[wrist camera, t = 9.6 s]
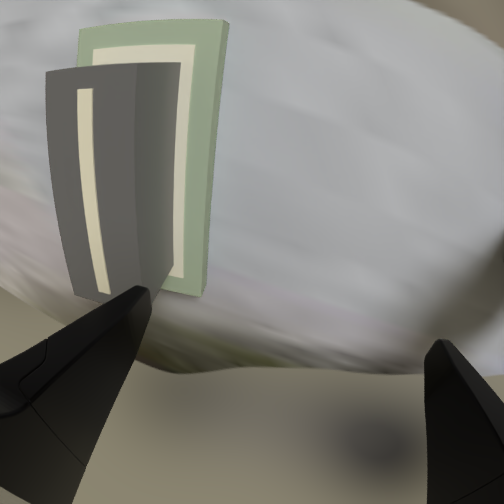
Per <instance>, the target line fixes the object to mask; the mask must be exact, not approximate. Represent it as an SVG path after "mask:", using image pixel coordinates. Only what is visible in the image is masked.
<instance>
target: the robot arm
mask: <svg viewBox="0 0 504 504" xmlns="http://www.w3.org/2000/svg"><path fill="white" fill-rule="evenodd" d="M151 311H152V305H151V296H150V290H149V288H148V287H144V286H140V285H135V286H133V287H132V288H130V289H128V290H126V291H125V292H123V293H121V294H120V295H118V296H116V297H114V298H113V299H111V300H109V301H108V302H106V303H104V304H103V305H101V306H99V307H97V308H96V309H94V310H92V311H91V312H89V313H87V314H86V315H84V316H82V317H81V318H79V319H77V320H76V321H74V322H72V323H71V324H69V325H67V326H66V327H64V328H62V329H61V330H59V331H58V332H56V333H54V334H53V335H51V336H49V337H48V339H44V340H43V341H41V342H39V343H38V344H36V345H35V346H33V347H31V348H29V349H28V350H26V351H24V352H22V353H20V354H18V355H17V356H15V357H13V358H11V359H9V360H7V361H5V362H3V363H1V364H0V504H72V502H73V499H74V497H75V494H76V492H77V489H78V487H79V484H80V482H81V479H82V477H83V474H84V472H85V469H86V466H87V464H88V462H89V459H90V457H91V455H92V452H93V450H94V448H95V445H96V443H97V440H98V438H99V436H100V433H101V431H102V429H103V427H104V425H105V422H106V420H107V418H108V416H109V413H110V411H111V409H112V407H113V404H114V402H115V400H116V398H117V396H118V394H119V391H120V389H121V387H122V385H123V383H124V381H125V379H126V377H127V374H128V372H129V370H130V368H131V366H132V364H133V362H134V360H135V357H136V355H137V352H138V350H139V347H140V344H141V341H142V338H143V335H144V332H145V329H146V327H147V324H148V321H149V318H150V316H151ZM424 377H425V378H424V382H425V383H424V385H425V386H424V390H425V391H424V392H425V393H424V395H425V396H424V403H425V418H426V435H427V468H428V470H427V473H428V474H427V476H428V477H427V478H428V479H427V504H504V403H503V402H502V401H501V399H500V398H499V397H498V396H497V395H496V393H495V392H494V391H493V390H492V389H491V387H490V386H489V385H488V384H487V382H486V381H485V380H484V379H483V378H482V377H481V375H480V374H479V373H478V372H477V371H476V370H475V369H474V367H473V366H472V365H471V364H470V363H469V362H468V361H467V359H466V358H465V357H464V356H463V355H462V354H461V353H460V352H459V350H458V349H457V348H456V347H455V346H454V345H453V344H452V343H451V342H450V341H449V340H446V339H438V340H436V341H435V343H434V344H433V346H432V347H431V348H430V350H429V351H428V353H427V354H426V356H425V359H424Z"/></svg>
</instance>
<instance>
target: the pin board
mask: <svg viewBox="0 0 504 504" xmlns="http://www.w3.org/2000/svg"><path fill="white" fill-rule="evenodd" d="M228 30H229V23H228V22H226V21H225V20H217V19H170V20H150V21H137V22H127V23H118V24H110V25H103V26H96V27H90V28H84V29H79V41H78V55H77V67H82V66H91V65H101V64H115V63H135V62H181V68H180V79H179V92H178V105H177V120H176V138H175V161H174V201H173V252H174V265H173V267H172V269H171V271H170V272H169V274H168V276H167V278H166V279H165V281H164V283H163V285H162V286H161V288H160V289H164V290H169V291H173V292H178V293H182V294H187V295H192V296H197V297H201V296H202V294H203V291H204V289H205V286H206V279H207V260H208V242H209V226H210V211H211V197H212V184H213V171H214V159H215V148H216V137H217V126H218V116H219V106H220V97H221V88H222V79H223V70H224V62H225V54H226V46H227V38H228Z"/></svg>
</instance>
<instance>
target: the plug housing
mask: <svg viewBox="0 0 504 504" xmlns="http://www.w3.org/2000/svg"><path fill="white" fill-rule="evenodd" d="M180 68H181V62H135V63H115V64H101V65H91V66H82V67H75V68H67V69H61V70H54V71H48V72H46V125H47V141H48V153H49V163H50V172H51V181H52V188H53V195H54V202H55V208H56V214H57V220H58V225H59V231H60V236H61V241H62V245H63V250H64V254H65V259H66V263H67V267H68V271H69V275H70V279H71V283H72V287H73V291H74V294H75V295H76V296H80V297H83V298H86V299H90V300H93V301H97V302H100V303H106V302H108V301H109V300H111V299H113V298H114V297H116V296H118V295H120V294H121V293H123V292H125V291H126V290H128V289H130V288H132V287H133V286H135V285H140V286H144V287H148V288H149V290H150V296H151V304H152V302H153V301H154V299H155V297H156V295H157V293H158V292H159V290H160V288H161V286H162V285H163V283H164V281H165V279H166V278H167V276H168V274H169V272H170V271H171V269H172V267H173V265H174V252H173V201H174V161H175V138H176V120H177V105H178V92H179V79H180Z"/></svg>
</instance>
